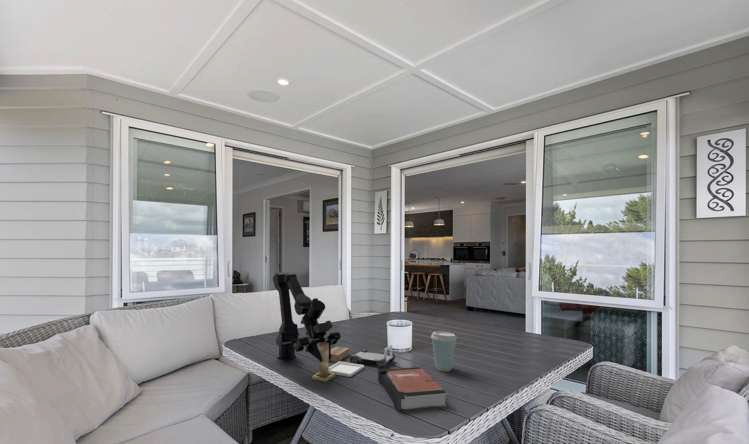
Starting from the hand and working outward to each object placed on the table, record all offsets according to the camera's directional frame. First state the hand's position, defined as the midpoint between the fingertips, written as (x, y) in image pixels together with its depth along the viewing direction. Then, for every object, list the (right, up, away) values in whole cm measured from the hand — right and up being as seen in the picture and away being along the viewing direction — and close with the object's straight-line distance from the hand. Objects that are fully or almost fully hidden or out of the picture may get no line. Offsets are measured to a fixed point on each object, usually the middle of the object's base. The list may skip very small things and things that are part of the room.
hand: (325, 360), depth 143 cm
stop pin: (-1, -7, +1) cm, 7 cm away
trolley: (+18, -8, +19) cm, 28 cm away
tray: (+7, -8, +9) cm, 14 cm away
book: (+32, -7, -14) cm, 35 cm away
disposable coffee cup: (+48, -8, +11) cm, 50 cm away
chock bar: (+2, -9, +27) cm, 29 cm away
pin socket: (-1, -7, +1) cm, 7 cm away
